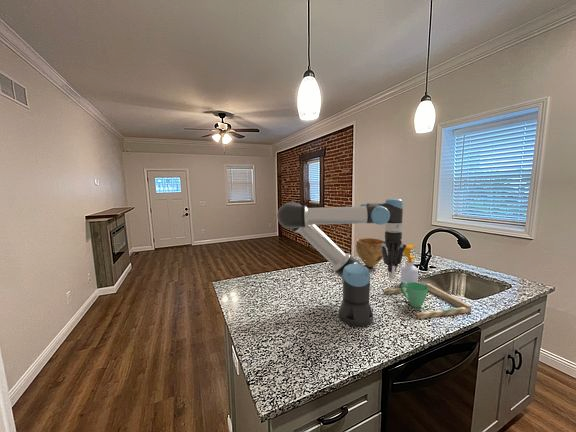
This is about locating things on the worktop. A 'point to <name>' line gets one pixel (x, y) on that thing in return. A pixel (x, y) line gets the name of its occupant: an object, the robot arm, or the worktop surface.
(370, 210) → the robot arm
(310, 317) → the worktop surface
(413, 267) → the soap bottle
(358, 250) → the bowl
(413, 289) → the mug
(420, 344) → the worktop surface
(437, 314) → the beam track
